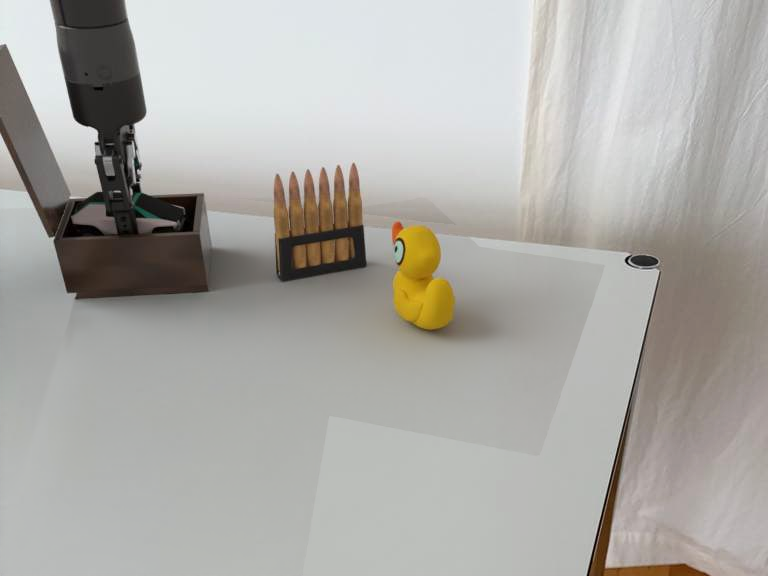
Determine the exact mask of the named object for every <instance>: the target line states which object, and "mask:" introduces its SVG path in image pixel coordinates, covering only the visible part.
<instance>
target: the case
mask: <svg viewBox="0 0 768 576" xmlns="http://www.w3.org/2000/svg"><path fill="white" fill-rule="evenodd" d="M148 195H149V196H152V197H154V198H157V199H159V200H162V201H164V202H167V203H169V204H172V205H176V206H180V207H183V208H184V210H185V211H184V212H185V214H186V215H187V216H188V217H189V219H190V228H189V230H188V232H178V233H156V234H134V235H112V236H91V237H77V235H78V232H77V229H78V228H77V226H75V227H74V224H73V222H72V218H71V216H73V214H74V213H75V211H76V207H77V205H78V204H79V203H81V202H83V201H84V200H85V199H87V198H88V197H79V198H78V197H77V198H69V201H68V204H67V206H66V209H65V212H64V214H63V217H62V219H61V222H60V225H59V227H58V230H57V233H56V235H55V237H53V246H54V249H55V253H56V256H57V261H58V264H59V268H60V273H61V275H62V279H63V283H64V286H65V290H66V293H67V294H75V297H74V299H89V298H90V299H91V298H110V297H111V298H112V297H126V296H127V297H128V296H129V297H130V296H146V295H167V294H169V295H170V294H183V293H184V294H185V293H205V292H209V288H210V276H211V265H212V252H213V250H212V249H213V245H212V239H211V238H212V237H211V232H210V224H209V217H208V211H207V205H206V199H205V193H204V192H197V193H177V194H176V193H174V194H152V195H151V194H148Z"/></svg>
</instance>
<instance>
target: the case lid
mask: <svg viewBox="0 0 768 576" xmlns="http://www.w3.org/2000/svg"><path fill="white" fill-rule="evenodd" d="M25 87H26V86H25V85H24V82H23V80H22V77H21V75H20V73H19V71H18V69H17V66H16V64H15V61H14V59H13V57H12V54H11V53H10V50H9V48H8V46H7V44H6V43H4V44H0V136H1V138H2V141H3V143H4V145H5V147H6V149H7V151H8V154H9V155H10V158H11V159H12V162H13V164H14V166H15V169H16V170H17V172H18V175H19V177H20V179H21V181H22V183H23V185H24V187H25V190H26V192H27V194H28V196H29V198H30V200H31V203H32V205H33V207H34V209H35V211H36V213H37V215H38V217H39V220H40V222H41V224H42V226H43V229H44V230H45V233H46V235H47V237H48V238H49V239H51V238H55V236H56V233H57V230H58V228H59V225H60V222H61V220H62V217H63V214H64V212H65V209H66V206H67V204H68V201H69V199H71V195H72V193H71V191H70V189H69V186H68V185H67V184H68V183H67V182H66V180H65V177H64V175H63V171H62V170H61V168H60V165H59V163H58V161H57V158H56V157H55V154H54V152H53V149H52V147H51V145H50V142H49V140H48V137H47V136H46V133H45V131H44V129H43V125H42V124H41V122H40V119H39V117H38V115H37V113H36V110H35V108H34V105H33V103H32V101H31V99H30V96H29V94H28V91H27V89H26V88H25Z"/></svg>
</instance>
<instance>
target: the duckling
mask: <svg viewBox="0 0 768 576" xmlns="http://www.w3.org/2000/svg"><path fill="white" fill-rule="evenodd" d="M391 240H392V245H393V255H394V260H395V264H396V265H397V268H398V269H399V270H397V272H396V273H395V275H394V279H393V282H392V291H393V306H394V308H395V311H396V313H397V314H398V315H399V316H400V317H401V318H402V319H403V320H404V321H405V322H411V323H412V324H414V325H415V326H416V327H418V328H420V329H423V330H438V329H441V328H443V327H445V326H447V325H448V324H450V323H451V321H452V319H453V317H454V311H455V310H454V309H455V302H456V297H455V295H454V294H455V293H454V290H453V288H452V286H451V284H450V282H449V280H447V279H446V278H443V277H437V278H434V276H433V274H434V273H435V272H436V271H437V269H438V268H439V266H440V263H441V258H442V250H441V245H440V242H439V240H438V238H437V236H436V234H435V232H433V231H432V230H431V229H430V228H428V227H426V226H424V225H410V226H406V227H404V226H403V224H402V223H401V221H395V222H393V225H392V228H391Z"/></svg>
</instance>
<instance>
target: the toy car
mask: <svg viewBox="0 0 768 576" xmlns="http://www.w3.org/2000/svg"><path fill="white" fill-rule="evenodd" d="M149 195H150V194H147V193H144V192H142V193H133V201H134V203H135V206H134V210H135V215H136V220H137V225H138V230H139V234H156V233H178V232H188V230H189V228H190V219H189V217H188V216H187V215H186V214H185V212H184V211H185V210H184V208H183V207H180V206H176V205H172V204H169V203H167V202H164V201H162V200H159V199H157V198H154V197H152V196H149ZM114 197H115V199H120V198H123V195H122V192H121V191H114ZM86 198H87V199H85V200H84V201H83V202H81V203H79V204H78V205H77V207H76V211H75V213H74V214H73V216H71V218H72V222H73V224H74V227H75V226H77V228H78V229H77V232H78V235H77V237H91V236H112V235H118V234H117V229H116V224H115V219H114V215H113V211H112V212H107V209H106V208H105V200H104V196H103V192H102V191H96V192H94V193H92V194H91V195H90V196H88V197H86Z"/></svg>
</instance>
